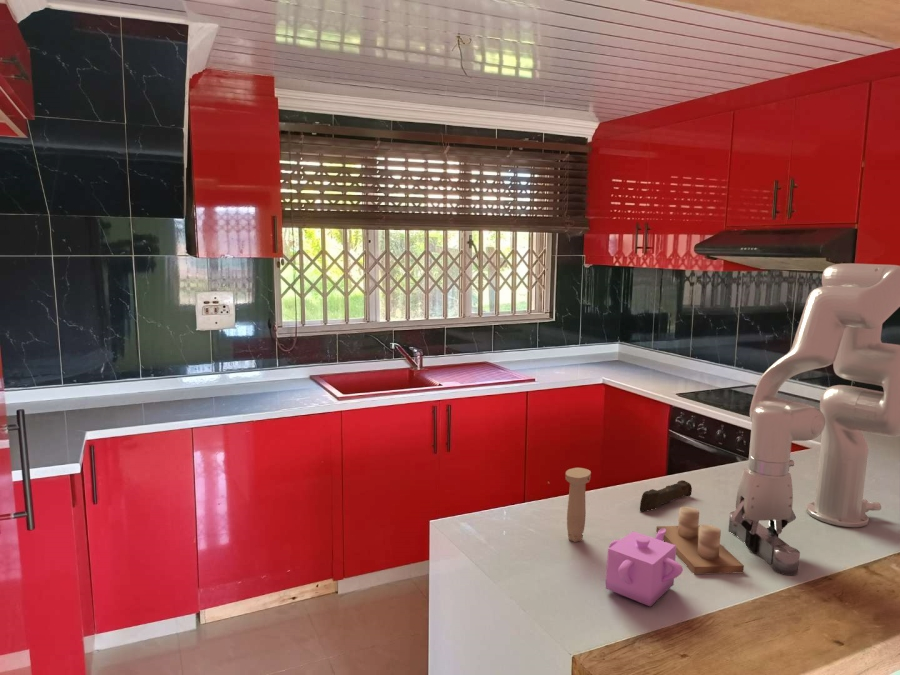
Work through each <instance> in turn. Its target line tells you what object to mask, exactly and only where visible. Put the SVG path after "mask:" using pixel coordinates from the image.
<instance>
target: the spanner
mask: <svg viewBox="0 0 900 675" xmlns="http://www.w3.org/2000/svg"><path fill="white" fill-rule="evenodd" d="M734 512H735V510H734V511H730V513H729V519H728V520H729V521H728V532H729V533H730V532H731V533H733V534H735V535H736V536H735V535H734V536H735V537H737V536H738V537H739V538H740V539H741V540H742V541H741V540H740V539H739V538H738V537H737V538H738V539H739V540H740V541H741V542H743V543H744V542H745V538H746V529H745V528H744V527H743V526H742V525H741V524H739V523H738V522H736V521H735V520H733V519H732V518H731V516H732V515H733V513H734ZM742 518H743V519H745V518H746V516H745V513H744V514H743V516H742ZM767 528H768V527H767ZM767 528H766V527H765V526H764V525H762V524H761V523H760V522H759V523H758V527H757V531H756V534H757V535H758V542H757V552H756V554H757V555H758V556H759V555H760V556H759V557H761V558H762V560H764V562H766V563H768V564H769V565H770V566H771V568H772V569H773V571H775V572H777V573H778V574H782V575H786V576H796V575H798V574H799V567H800V559H801V558H800V556H801V552H800V550H798V548H795V547H793V546H791V545H789V544H788V543H786V542H785V541H784V540H783V539H781V538H780V537H779V536H778V537H777V536H776V535H775V534H773V533H772V532H771V531H769V530H768V529H767ZM731 533H730V534H731ZM733 534H732V535H733Z"/></svg>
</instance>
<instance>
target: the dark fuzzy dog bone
mask: <svg viewBox="0 0 900 675" xmlns="http://www.w3.org/2000/svg"><path fill="white" fill-rule="evenodd" d="M692 492H693V487H692V485H691V483H690V482H688V481H686V480H679V481H678V482H676V483H674V484H671V485H666V486H665V487H663V488H660V489H658V490H656V489H653V488H652V489H649V490H645V491H644V492H643V493H642V495H641V499H640V502H639V503H640V504H639V512H648V511H647V510H649V511H652V510H651V509H653V510H656V509H655V508H657V509H658V508H659V506H662V505H663V504H666V503H669V502H670V503H671V502H672V501H674V500H677V499H679V498H683V497H685V496H686V497H688V496H689V497H691V495H692Z"/></svg>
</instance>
